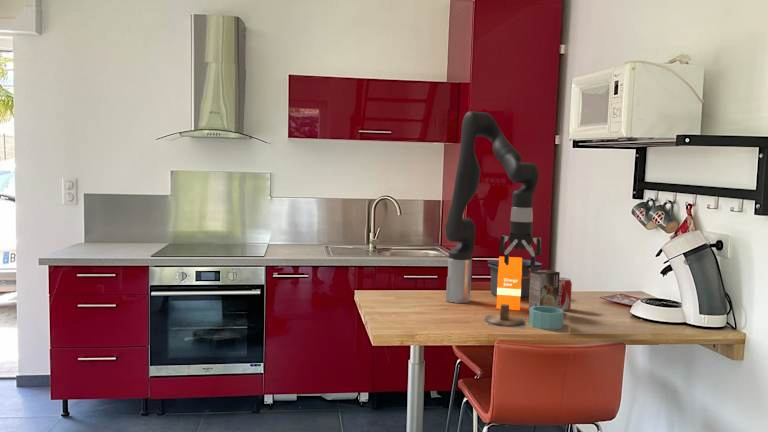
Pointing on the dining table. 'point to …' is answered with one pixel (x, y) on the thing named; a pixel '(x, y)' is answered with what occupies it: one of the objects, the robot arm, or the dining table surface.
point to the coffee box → (544, 288)
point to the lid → (504, 318)
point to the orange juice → (509, 283)
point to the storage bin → (524, 277)
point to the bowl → (546, 317)
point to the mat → (508, 326)
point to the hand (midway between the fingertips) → (519, 265)
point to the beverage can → (564, 294)
